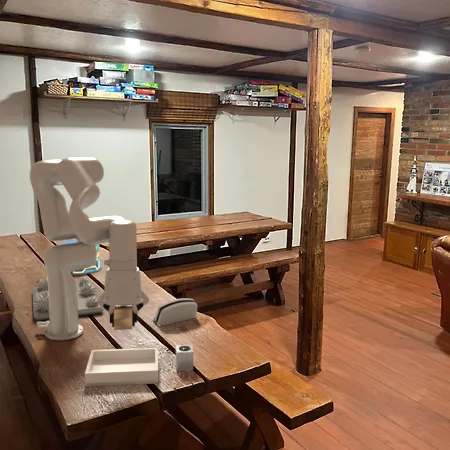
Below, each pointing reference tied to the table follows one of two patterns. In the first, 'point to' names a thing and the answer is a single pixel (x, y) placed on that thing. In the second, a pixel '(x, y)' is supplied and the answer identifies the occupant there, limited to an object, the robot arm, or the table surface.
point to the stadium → (92, 269)
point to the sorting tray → (122, 367)
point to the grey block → (184, 357)
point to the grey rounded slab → (176, 311)
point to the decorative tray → (85, 299)
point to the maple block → (123, 317)
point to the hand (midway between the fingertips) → (123, 324)
